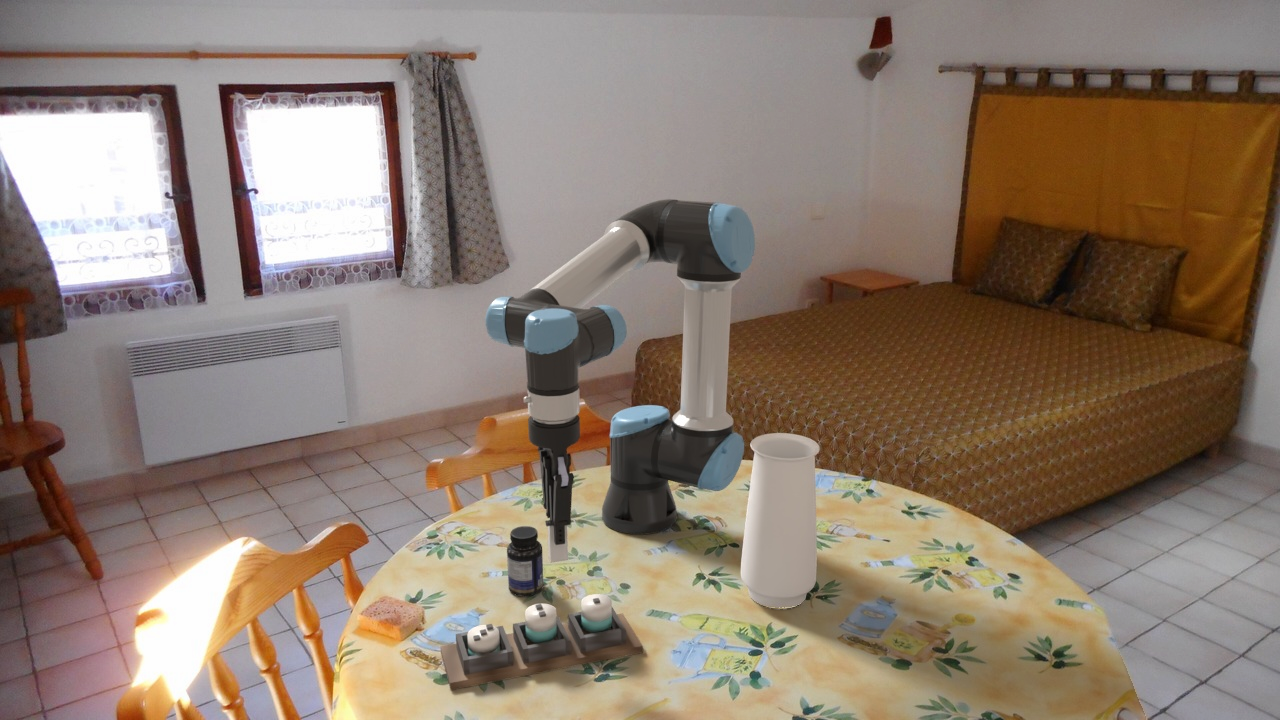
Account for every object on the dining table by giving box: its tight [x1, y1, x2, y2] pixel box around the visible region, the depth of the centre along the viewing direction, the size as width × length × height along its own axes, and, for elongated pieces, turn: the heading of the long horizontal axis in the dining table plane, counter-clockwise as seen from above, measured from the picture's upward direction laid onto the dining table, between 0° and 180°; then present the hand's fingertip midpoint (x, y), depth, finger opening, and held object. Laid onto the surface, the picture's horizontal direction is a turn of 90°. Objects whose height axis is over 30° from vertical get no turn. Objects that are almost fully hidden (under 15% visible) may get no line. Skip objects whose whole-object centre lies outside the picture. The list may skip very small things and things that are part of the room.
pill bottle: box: [506, 525, 544, 597], centre depth 171 cm, size 6×6×11 cm
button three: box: [467, 623, 500, 656], centre depth 150 cm, size 5×5×4 cm
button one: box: [580, 593, 613, 633], centre depth 155 cm, size 5×5×4 cm
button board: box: [439, 606, 644, 691], centre depth 153 cm, size 30×10×4 cm, turn 109°
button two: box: [524, 603, 557, 643], centre depth 152 cm, size 5×5×4 cm
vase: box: [740, 432, 821, 608], centre depth 167 cm, size 13×13×28 cm
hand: (558, 558), depth 150 cm, fingers closed
